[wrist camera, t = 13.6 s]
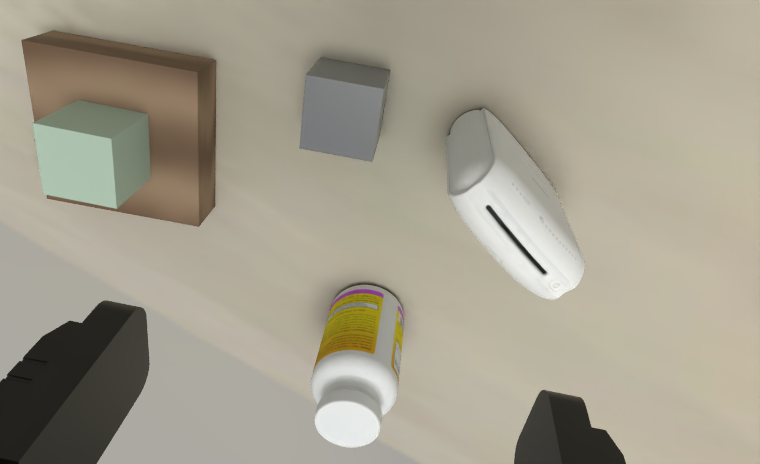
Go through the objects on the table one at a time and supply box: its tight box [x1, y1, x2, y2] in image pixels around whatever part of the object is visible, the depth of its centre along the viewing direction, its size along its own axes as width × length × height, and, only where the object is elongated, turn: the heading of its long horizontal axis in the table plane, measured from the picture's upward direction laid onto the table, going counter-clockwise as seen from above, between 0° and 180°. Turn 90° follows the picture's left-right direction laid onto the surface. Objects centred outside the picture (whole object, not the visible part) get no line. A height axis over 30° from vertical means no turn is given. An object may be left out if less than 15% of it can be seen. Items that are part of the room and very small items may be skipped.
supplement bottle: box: [311, 285, 404, 447], centre depth 45 cm, size 7×7×13 cm
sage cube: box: [33, 100, 151, 209], centre depth 38 cm, size 5×5×5 cm
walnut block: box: [21, 31, 216, 227], centre depth 42 cm, size 12×12×4 cm
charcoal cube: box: [300, 58, 390, 162], centre depth 39 cm, size 5×5×5 cm
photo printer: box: [446, 108, 585, 299], centre depth 37 cm, size 10×4×12 cm, turn 42°
